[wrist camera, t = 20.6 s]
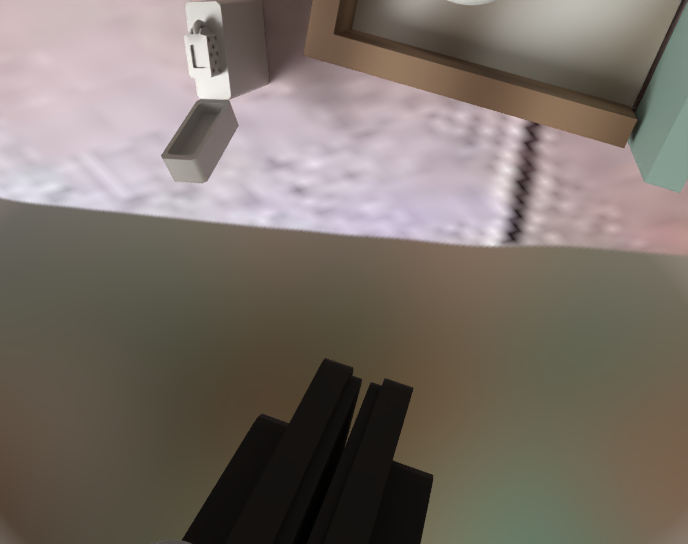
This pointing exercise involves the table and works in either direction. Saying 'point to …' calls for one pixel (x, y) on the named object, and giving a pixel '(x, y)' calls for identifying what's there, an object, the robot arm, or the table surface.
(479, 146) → the table surface
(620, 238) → the table surface
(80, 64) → the table surface
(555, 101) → the bay
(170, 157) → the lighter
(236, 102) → the table surface
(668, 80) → the gate
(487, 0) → the pill bottle
